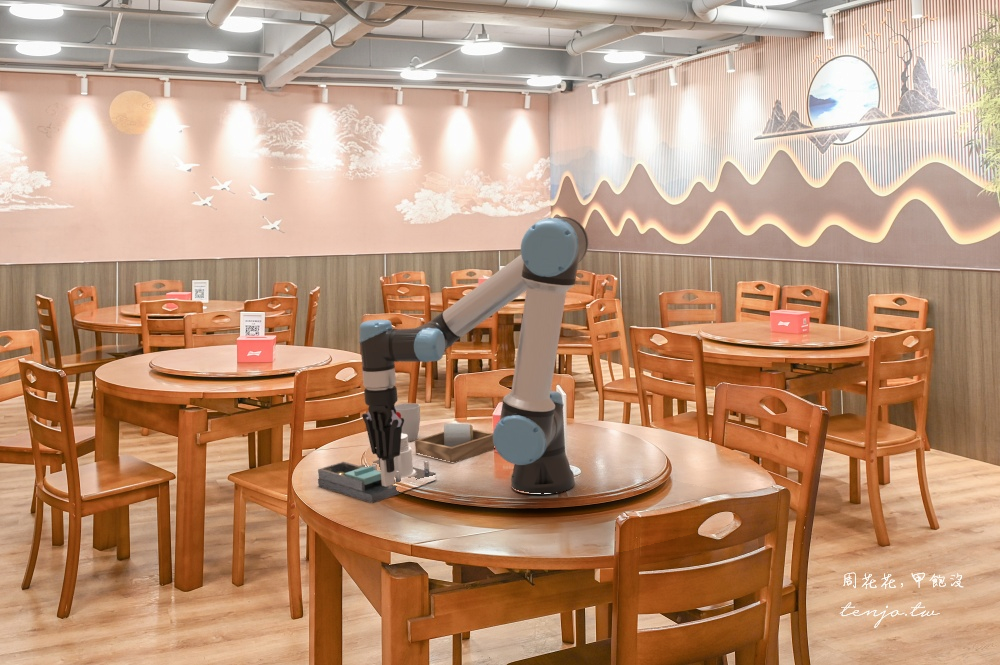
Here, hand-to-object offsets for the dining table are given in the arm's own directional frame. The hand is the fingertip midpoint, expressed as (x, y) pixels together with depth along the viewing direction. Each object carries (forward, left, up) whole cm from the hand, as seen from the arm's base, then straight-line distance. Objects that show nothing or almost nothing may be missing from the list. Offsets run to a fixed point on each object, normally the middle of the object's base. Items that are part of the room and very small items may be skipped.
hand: (388, 484), depth 213 cm
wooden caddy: (+16, -37, -4) cm, 40 cm away
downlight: (+7, -10, -2) cm, 13 cm away
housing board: (+12, -6, -4) cm, 14 cm away
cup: (+38, -38, -4) cm, 54 cm away
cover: (+9, 0, 0) cm, 9 cm away
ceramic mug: (+18, -39, -4) cm, 43 cm away
